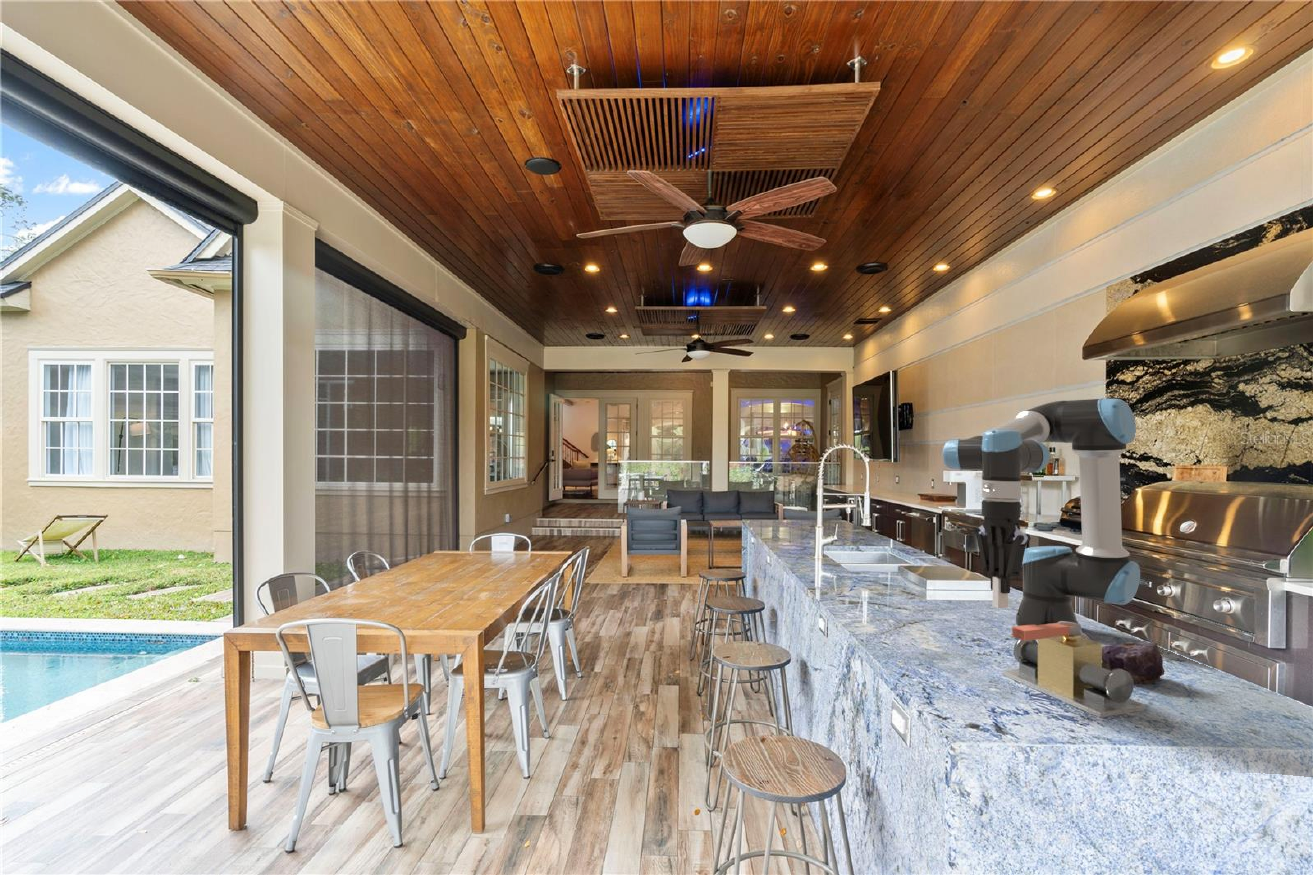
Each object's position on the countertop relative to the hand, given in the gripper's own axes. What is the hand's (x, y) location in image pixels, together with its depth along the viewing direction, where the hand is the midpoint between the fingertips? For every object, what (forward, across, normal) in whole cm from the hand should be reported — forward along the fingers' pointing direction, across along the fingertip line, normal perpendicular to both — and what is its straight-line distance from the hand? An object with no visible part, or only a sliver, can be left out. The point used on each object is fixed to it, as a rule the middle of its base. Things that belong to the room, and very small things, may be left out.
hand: (1000, 606), depth 132 cm
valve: (+17, +8, +10) cm, 21 cm away
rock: (+17, +8, +31) cm, 36 cm away
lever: (+4, +8, +4) cm, 10 cm away
